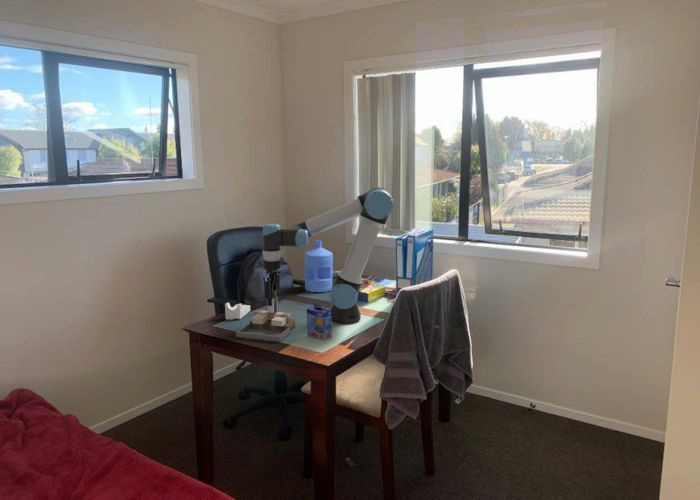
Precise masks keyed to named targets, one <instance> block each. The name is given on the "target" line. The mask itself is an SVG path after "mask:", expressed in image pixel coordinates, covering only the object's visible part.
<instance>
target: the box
mask: <svg viewBox="0 0 700 500" xmlns="http://www.w3.org/2000/svg"><path fill="white" fill-rule="evenodd" d="M290 335H291V331H290V328H287V329H286V330H285V331H284V332H281V331H272V330H263V329H254V328H250V323H247V324H245V325H244V326H243V327H241V328H240V329H238V330H236V331H235V338H237V339H244V340H253V341H262V342H269V343H270V342H271V343H277V342H278V344H279V343H281V342H283V341H284V340H285V339H286V338H287V337H289V336H290Z"/></svg>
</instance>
